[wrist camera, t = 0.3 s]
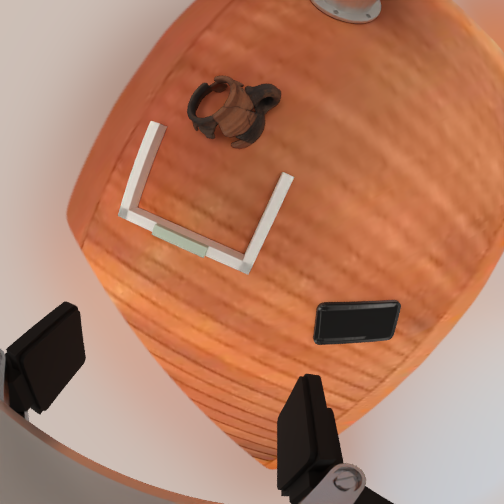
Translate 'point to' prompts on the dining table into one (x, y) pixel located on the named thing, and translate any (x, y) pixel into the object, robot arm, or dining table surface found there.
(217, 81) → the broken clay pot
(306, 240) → the dining table surface
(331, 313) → the phone
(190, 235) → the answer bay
